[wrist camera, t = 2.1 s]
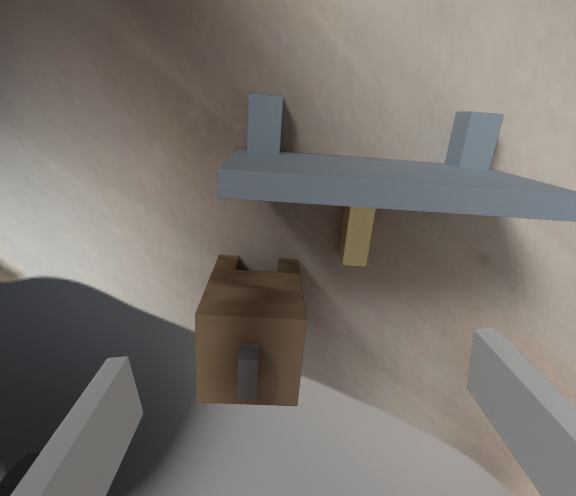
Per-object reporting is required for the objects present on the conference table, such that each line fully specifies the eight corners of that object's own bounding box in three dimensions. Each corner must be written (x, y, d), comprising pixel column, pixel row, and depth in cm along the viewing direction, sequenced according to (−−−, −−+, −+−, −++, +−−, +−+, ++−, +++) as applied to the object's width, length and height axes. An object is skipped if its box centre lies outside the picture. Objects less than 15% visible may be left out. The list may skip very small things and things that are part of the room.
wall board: (238, 167, 29) (217, 197, 19) (240, 93, 27) (218, 82, 17) (477, 184, 30) (581, 222, 20) (495, 114, 28) (620, 116, 18)
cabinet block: (218, 325, 34) (191, 423, 24) (219, 255, 32) (189, 328, 21) (291, 328, 35) (298, 427, 24) (297, 259, 32) (308, 334, 21)
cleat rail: (337, 254, 32) (342, 265, 30) (348, 175, 30) (354, 180, 27) (359, 255, 32) (366, 266, 30) (372, 177, 30) (380, 182, 28)
